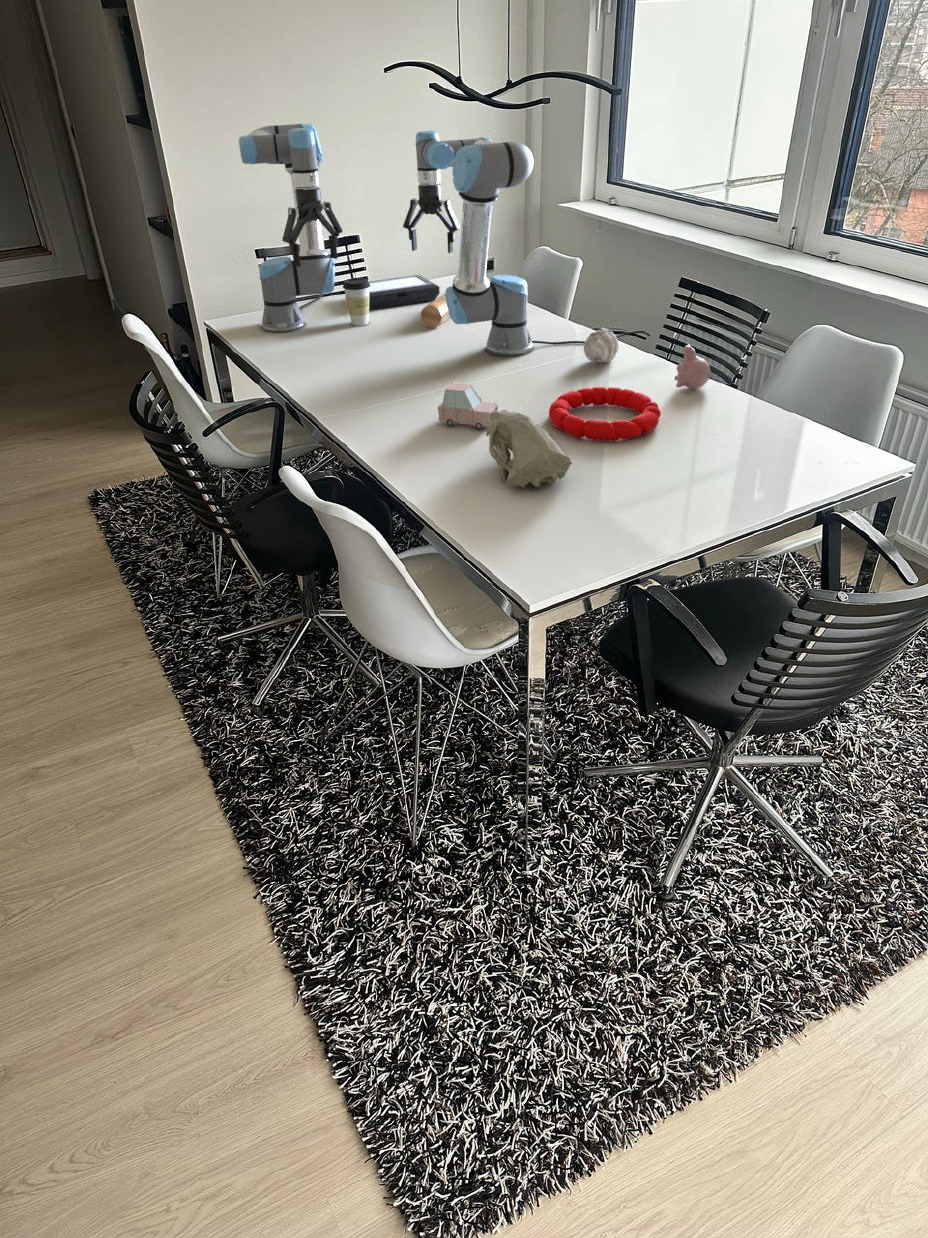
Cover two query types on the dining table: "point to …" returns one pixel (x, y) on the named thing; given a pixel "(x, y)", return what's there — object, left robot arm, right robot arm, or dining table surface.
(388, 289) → the electronic device
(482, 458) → the dining table surface
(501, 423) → the grey irregular stone chunk
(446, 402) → the toy car
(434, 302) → the brown cylinder
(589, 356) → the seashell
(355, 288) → the coffee cup
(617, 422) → the decorative ring
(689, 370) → the figurine
